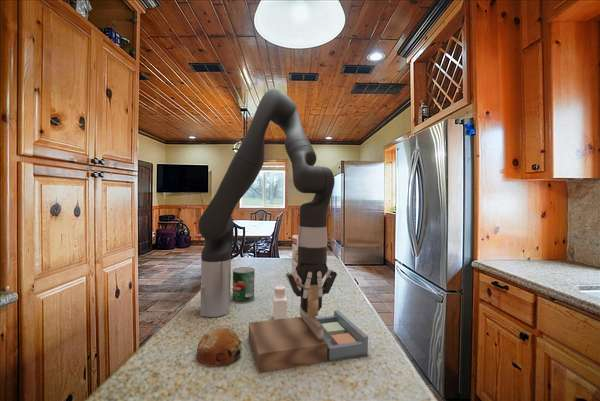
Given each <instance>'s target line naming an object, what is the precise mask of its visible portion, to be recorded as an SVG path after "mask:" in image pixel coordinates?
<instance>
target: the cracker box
mask: <svg viewBox="0 0 600 401" xmlns="http://www.w3.org/2000/svg"><path fill="white" fill-rule="evenodd" d="M291 237H292V238H291V241H292V242H291V243H292V244H291V250H292V251H291V272H293V271H295V270H296V267H297V264H298V234H292V236H291ZM295 282H296V284H297V286H298V287H299V288H301V279H300V277H299V276H298V275H297V280H296V281H295Z"/></svg>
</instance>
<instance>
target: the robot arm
mask: <svg viewBox="0 0 600 401" xmlns="http://www.w3.org/2000/svg"><path fill="white" fill-rule="evenodd" d="M270 122H271V123H273V124H274V125H276V126H279V127H280V129H281V130H282V132H283V133H284V135H285V138H284V147H285V152H286V154H287V156H288V158H289V160H290V163H291V169H292V182H293V186H294V188H295V189H296V190H297V191H298V192H300V193H302V194H314V196H313V198H312V200H311V201H310V202H305V203H302V204H301V205H300V208H299V221H298V222H299V224H298V226H299V227H298V233H297V235H298V264H297V267H296V270H295V271H293V272H292V271H291V272H287V273H286V274H285V276H286V279H287V281H288V284H289V285H290V287H291V290H292V292H293V293H294V295H295V296H296V297H300V304H301V305H300V304H299V308H300V307H301V309H302V310H303V311H304V312H305V313H306V312H307V309H308V298H307V295H308V289H309V288H310V284H312V283H314V284H317V285H318V289H319V299H318V312H320V310H321V309H322V307H323V296H325V294H327V295H328V294H329V293H330V291H331V289H332V287H333V285H334V282H335V280H336V277H337V276H338V273H337V272H336V271H335V270H333V269H329V268H328V265H327V262H328V259H327V258H328V242H329V240H328V231H327V230H328V229H327V228H328V227H327V225H328V224H327V220H328V208H329V207H330V206H329V205H330V201H331V198H332V195H333V191H334V188H335V176H334V173H333V171H332V169H330V168H329V167H327V166H320V165H319V166H318V165H315V164H316V162H317V160H318V159H317V154H316V151H315V150H314V148H313V146H312V143H311V142H310V140H309V138H308V137H307V135H306V133H305V130H304V127H303V124H302V121H301V118H300V114H299V110H298V108H297V105H296V103H295V101H293V100H292V98H290V96H288V95H287V94H285V93H284V91H282V90H281V89H279V88H278V87H271V88H269V89H268V90H267V91H265V93H264V94H263V95H262V97H261V99H260V101H259V103H258V105H257V108H256V110H255V113H254V115H253V118H252V119H251V122H250V125H249V127H248V128H247V131H246V133H245V135H244V138H243V139H242V142H241V143H240V145H239V147H238V148H237V151H236V152H235V154H234V156H233V158H232V160H231V162H230V163H229V166H228V168H227V170H226V172H225V173H224V176H223V178H222V180H221V182H220V184H219V187H218V188H217V191H216V192H215V195H214V196H213V198H212V199H211V201H210V202H209V204H208V205H207V207H206V208H205V209H204V211H203V212H202V214H201V215H200V218H199V219H198V224H197V228H198V232H199V234H200V236H202V238H204V239H205V243H204V247H203V249H202V251H201V254H200V256H201V260H200V262H201V263H200V264H201V266H200V269H201V270H200V271H201V272H200V308H199V309H200V310H199V311H200V314H199V315H200V316H199V317H207V318H217V317H218V318H219V317H222V316H225V315H227V314H229V313H230V311H231V276H232V275H231V274H232V272H231V271H232V270H231V266H232V260H231V259H232V251H233V247H234V244H233V243H234V226H235V225H234V220H233V216H232V214H233V213H234V210H235V208H236V206H237V204H239V202H240V200H241V198H243V196H244V195H245V194H246V193H247V192H248V191H249V189H250V188H251V187H252V185H253V184H254V183H255V181H256V179H257V177H258V175H259V174H260V172H261V170H262V168H263V166H264V162H265V138H266V133H267V129H268V126H269V124H270ZM297 275H298V276H299V277H300V279H301V287H299V285H297V284H296V282H295V281H296V280H297ZM324 277H326V278H325V279H324ZM323 279H324V282H323ZM299 288H300V289H299Z"/></svg>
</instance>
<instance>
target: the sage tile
mask: <svg viewBox="0 0 600 401" xmlns="http://www.w3.org/2000/svg"><path fill="white" fill-rule="evenodd" d="M322 325H323V333H324V334H325V335H326V337H327V338H330V337H331V335H337V334H344V333H345V329H344V328H343V327H342V326H341V325H340V324H339V323H338V322H332V323H324V324H322Z"/></svg>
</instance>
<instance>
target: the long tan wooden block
mask: <svg viewBox="0 0 600 401" xmlns="http://www.w3.org/2000/svg"><path fill="white" fill-rule="evenodd" d="M307 298H308V309H307V312H306V313H305V312H304V311H303V310H302V309H301V307H300V305H301V303H300V304H299V315H300V317H302V318H303V319H304V321H305V322H306V323H307V325H308V326H309V328H310V329H311V330H312V332H313V333H314V334H315V336H316V337H317V338H318V339H323V325H322V324H321V323H320V322H319V320H318V319H317V318H316V317H318V316H319V311H318V299H319V289H318V285H317V284H314V283H312V284H310V288H309V289H308V295H307Z"/></svg>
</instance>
